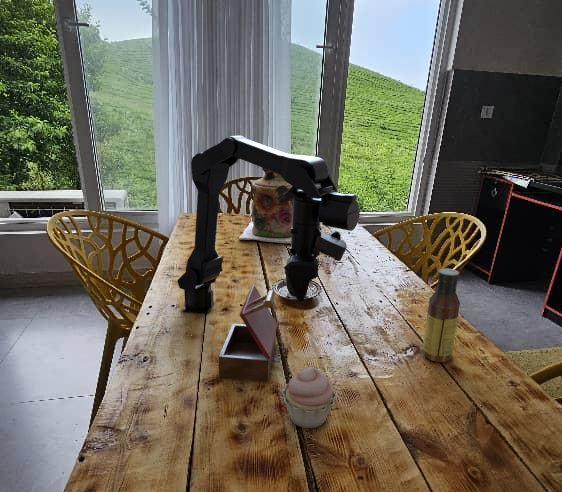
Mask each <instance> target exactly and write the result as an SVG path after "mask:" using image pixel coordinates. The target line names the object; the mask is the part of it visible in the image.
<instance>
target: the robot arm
mask: <svg viewBox="0 0 562 492" xmlns="http://www.w3.org/2000/svg"><path fill="white" fill-rule="evenodd" d="M239 160H242V161H244V162H247V163H250V164H252V165H255V166H257V167H260V168H261V169H262V168H265V169H267V170H270V171H272V172H275V173H277V174H278V175H280V176H281V177H282V178H283V180H284V181H285V182H287V183H288V184H290V185H292V187H291V188H290V190H289V191H287V192H286V193H285V194H284V197H286V198H292V199H293V215H292V227H291V234H292V235H291V244H290V247H289V254H291V256H290V257H289V258H287V260H286V264H285V275H286V277H287V278H288V280H289V282H290V285H291V287H292V289H293V291H294V295H295V297H296V300H297V301H298V302H302V303H303V302H305V297H306V294H307V292H308V288H309V284H310V282H311V281H312V280H314V279H315V280H316V279H317V278H318V277H319V268H320V265H319V264H320V262H319V260H318V259H317V258H318V257H320V254H322V255H325V256H327V257H330V258H332V259H333V260H334V261H336V262H341V260H342V259H343V257H344V254H345V252H346V250H347V248H348V247H347V243H346V241H345V239H342V236H341V232H340V231H338V230H335V229H339V230H343V231H349V232H352V231H354V230H355V229H356V227H357V225H358V224H359V220H360V216H361V215H360V214H361V210H360V206H359V202H358V201H357V196H358V195H357V194H356V193H341V192H339V191H338V188H337V187H336V186H337V185H336V184H335V183H334V181H333V179H332V177H331V175H330V173H329V167H328V165H327V162H326V160H324V159H323V158H321V157H319V156H312V155H305V154H302V155H301V154H293V153H287V152H284V151H281V150H278V149H277V148H273V147H270V146H267V145H265V144H262V143H259V142H256V141H254V140H251V139H248V138H246V137H245V136H243V135H230V136H226V137H225V138H224V139H222V140H221V141H220V142H219V143H217V144H215V145H213V146H211V147H209V148H208V149H206V150H204V151H203V152H198V153H196V154H195V155H194V156H192V158H191V162H190V170H191V180H192V182H193V185H194V186H195V188H196V190H197V198H196V199H197V200H196V215H195V231H194V246H193V250H192V252H191V253H190V255H189V256H188V258H187V261H186V266H185V272H184V273H182V275H181V276H180V277H179V278H178V279H177V280H176V281H177V285H178V288H179V289H180V290H183V293H184V306H183V308H182V312H189V313H200V314H201V313H202V314H208V313H209V312H210V309H212V307H213V306H214V303H215V301H214V298H215V297H214V290H213V288H212V284H214V283H216V281H217V279H218V277H220V275H221V272H223V261H224V257H223V256H220V255H219V254H218V252H217V250H216V241H217V229H218V217H219V216H218V215H219V205H220V193H221V190H222V189H223V187H224V186H225V184H226V183H227V181H228V176H229V173H230V168H231V167H233V166H234V165H235V164H237V163H238V162H239ZM321 224H322V225H323V226H324V227H328V228H332V229H333V228H334V230H332V231H331V232H330V233H328V232H326V233H324V232H323V231H322V226H321Z"/></svg>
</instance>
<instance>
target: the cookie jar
mask: <svg viewBox="0 0 562 492" xmlns="http://www.w3.org/2000/svg"><path fill="white" fill-rule="evenodd" d="M261 169H262V171H263V172H264V175H263V176H262V177H261V178H259V179H256V180H255V181H253V182H252V184H251V188H252V189H253V198H252V199H253V200H252V204H251V221H250V222H249V223H248V225H247V226H246V228H245V229H244V230H243V232H242V233H241V235H240V236H238V240H246V241H255V240H256V241H260V242H267V243H277V244H290V245H291V235H292V234H291V227H292V215H293V199H292V198H286V197H284V194H285V193H286V192H287V191H289V190H290V188H291V187H292V185H290V184H288V183H287V182H285V181H284V180H283V178H282V177H281V176H280V175H278V174H277V173H275V172H272V171H270V170H267V169H265V168H262V167H261Z"/></svg>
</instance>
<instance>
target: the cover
mask: <svg viewBox="0 0 562 492" xmlns="http://www.w3.org/2000/svg"><path fill="white" fill-rule="evenodd" d="M256 287H257V286H256V285H255V284H253V285H251V286H250V288H249V290H248V292H247V295H246V297H245V300H244V303H243V305H242V307H241V310H240V312H239V317H240V318H241V320H242V322H243V323H244V325H246V326H247V328H248V330H249V331H250V333H251V335H252V336H253V338H254V339H255V341H256V343H257V344H258V346H259V348H260V349H261V351H262V352H263V354H264V356H265V357H266V359H268V358H270V356H271V351H272V347H273V342H274V338H275V339H276V337H275V333H277V330H278V329H277V327H278V322H277V321H276V319H275V317H274V316H273V313H271V311H270V308H272V307H273V304H274V301H275V297H276V292H275V291H274V290H273V289H272V290H271V289H270V290H268V291H267V292H266V294H265V295H263V296H261V294H260V292H259V290H258V289H257V288H256Z"/></svg>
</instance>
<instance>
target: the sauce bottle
mask: <svg viewBox="0 0 562 492" xmlns="http://www.w3.org/2000/svg"><path fill="white" fill-rule="evenodd" d="M459 279H460V271H458V270H456V269H453V268H449V267H448V268H440V269H438V271H437V285H436V290H435V291H434V293H432V295H431V296H429V300H428V308H427V312H426V318H425V319H426V320H425V326H424V327H425V328H424V336H423V344H422V353H423V355H424V356H425V358H426V359H427V360H430V361H432V362H436V363H447V362H449V361H450V360H451V359H452V355H453V352H454V348H455V343H456V342H455V341H456V335H457V330H458V329H457V328H458V322H459V313H460V312H459V311H460V306H461V302H460V300H459V297H458V294H457V285H458V280H459Z"/></svg>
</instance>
